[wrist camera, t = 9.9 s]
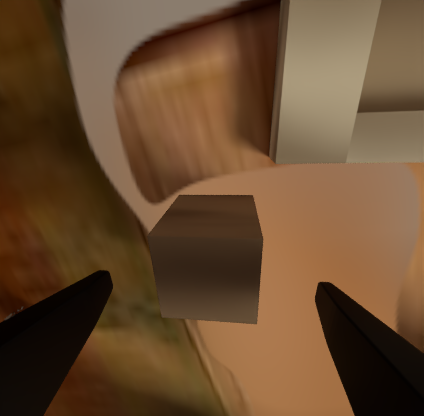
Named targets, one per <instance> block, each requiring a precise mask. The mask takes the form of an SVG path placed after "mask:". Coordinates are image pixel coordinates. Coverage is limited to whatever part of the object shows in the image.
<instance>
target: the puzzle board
mask: <svg viewBox="0 0 424 416" xmlns="http://www.w3.org/2000/svg"><path fill="white" fill-rule="evenodd" d="M269 157H270V158H271V160H272V161H273V162H274V163H275V164H302V163H405V162H424V0H281V6H280V19H279V33H278V46H277V59H276V72H275V85H274V99H273V112H272V125H271V138H270V151H269Z"/></svg>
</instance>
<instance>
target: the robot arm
mask: <svg viewBox="0 0 424 416" xmlns="http://www.w3.org/2000/svg"><path fill="white" fill-rule="evenodd" d="M112 289H113V283H112V279H111V276H110V273H109V271H106V270H99V271H97V272H95V273H93V274H91V275H89V276H87V277H85V278H83V279H82V280H80V281H78V282H76V283H74V284H72V285H70V286H68V287H67V288H65V289H63V290H61V291H59V292H57V293H55V294H53V295H51V296H50V297H48V298H46V299H44V300H42V301H40V302H38V303H36V304H35V305H33V306H31V307H29V308H27V309H25V310H23V311H21V312H19V313H18V314H16V315H14V316H12V317H10V318H8V319H6V320H4V321H2V322H1V323H0V416H43V415H44V413H45V412H46V410H47V408H48V407H49V405H50V403H51V401H52V400H53V398H54V396H55V394H56V393H57V391H58V389H59V388H60V386H61V384H62V382H63V381H64V379H65V377H66V376H67V374H68V372H69V370H70V369H71V367H72V365H73V363H74V362H75V360H76V358H77V357H78V355H79V353H80V351H81V350H82V348H83V346H84V345H85V343H86V341H87V339H88V338H89V336H90V334H91V332H92V331H93V329H94V327H95V325H96V324H97V322H98V320H99V318H100V315H101V313H102V311H103V309H104V307H105V305H106V303H107V300H108V298H109V296H110V294H111V292H112ZM315 302H316V306H317V310H318V314H319V317H320V321H321V325H322V328H323V332H324V336H325V339H326V342H327V345H328V348H329V351H330V353H331V356H332V358H333V361H334V363H335V366H336V369H337V371H338V374H339V376H340V379H341V382H342V384H343V387H344V389H345V392H346V395H347V397H348V400H349V402H350V405H351V407H352V410H353V413H354V415H355V416H424V353H422V352H421V351H420V350H418V349H417V348H416V347H414V346H413V345H412V344H411V343H409V342H408V341H407V340H405V339H404V338H403V337H401V336H400V335H399V334H397V333H396V332H395V331H394V330H392V329H391V328H390V327H388V326H387V325H386V324H384V323H383V322H382V321H380V320H379V319H378V318H376V317H375V316H374V315H372V314H371V313H370V312H369V311H367V310H366V309H364V308H363V307H362V306H361V305H359V304H358V303H357V302H355V301H354V300H353V299H351V298H350V297H349V296H348V295H346V294H345V293H344V292H342V291H341V290H340V289H338V288H337V287H336V286H334V285H333V284H332V283H329V282H319V283H318V286H317V291H316V295H315Z"/></svg>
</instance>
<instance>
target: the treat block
mask: <svg viewBox="0 0 424 416" xmlns="http://www.w3.org/2000/svg"><path fill="white" fill-rule="evenodd" d="M147 237H148V242H149V248H150V253H151V259H152V265H153V270H154V276H155V282H156V287H157V293H158V299H159V304H160V310H161V316H162V317H166V318H180V319H193V320H207V321H220V322H234V323H247V324H257V316H258V302H259V288H260V275H261V261H262V248H263V236H262V233H261V228H260V223H259V219H258V215H257V211H256V206H255V202H254V198H253V195H179V196H178V197H177V199H176V200H175V201H174V202H173V204H172V205H171V206H170V208H169V209H168V210H167V211H166V213H165V214H164V215H163V216H162V218H161V219H160V220H159V222H158V223H157V224H156V225H155V227H154V228H153V229H152V231H151V232H150V233H149V234H148V236H147Z"/></svg>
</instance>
